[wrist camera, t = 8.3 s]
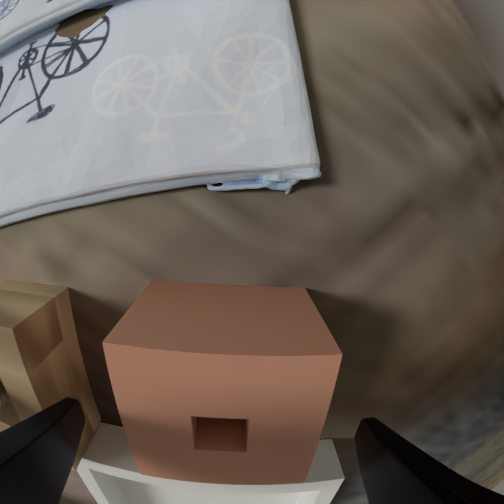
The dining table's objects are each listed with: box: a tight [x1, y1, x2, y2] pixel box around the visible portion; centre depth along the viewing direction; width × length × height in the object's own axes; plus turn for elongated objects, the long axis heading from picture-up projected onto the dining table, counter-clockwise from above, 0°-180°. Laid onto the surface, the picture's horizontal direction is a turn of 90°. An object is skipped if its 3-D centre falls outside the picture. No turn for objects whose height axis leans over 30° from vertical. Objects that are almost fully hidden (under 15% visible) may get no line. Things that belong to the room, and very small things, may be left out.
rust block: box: [102, 281, 343, 485], centre depth 10 cm, size 6×6×5 cm
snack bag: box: [0, 0, 321, 227], centre depth 8 cm, size 19×20×2 cm
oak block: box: [0, 279, 101, 471], centre depth 10 cm, size 8×8×4 cm
